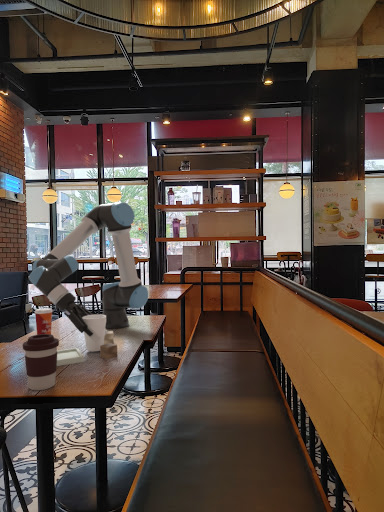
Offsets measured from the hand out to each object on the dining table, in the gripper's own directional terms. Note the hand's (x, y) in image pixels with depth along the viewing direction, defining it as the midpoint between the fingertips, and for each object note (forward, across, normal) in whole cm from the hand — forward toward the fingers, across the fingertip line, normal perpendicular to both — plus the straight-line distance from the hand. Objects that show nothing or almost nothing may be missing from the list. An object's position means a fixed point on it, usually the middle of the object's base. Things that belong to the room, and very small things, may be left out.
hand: (102, 337), depth 142 cm
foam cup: (+1, 0, -6) cm, 6 cm away
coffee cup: (-2, +36, -9) cm, 37 cm away
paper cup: (-19, -19, -27) cm, 38 cm away
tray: (-5, +11, -12) cm, 17 cm away
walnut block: (+7, +7, -1) cm, 10 cm away
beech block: (+3, -13, -5) cm, 15 cm away
